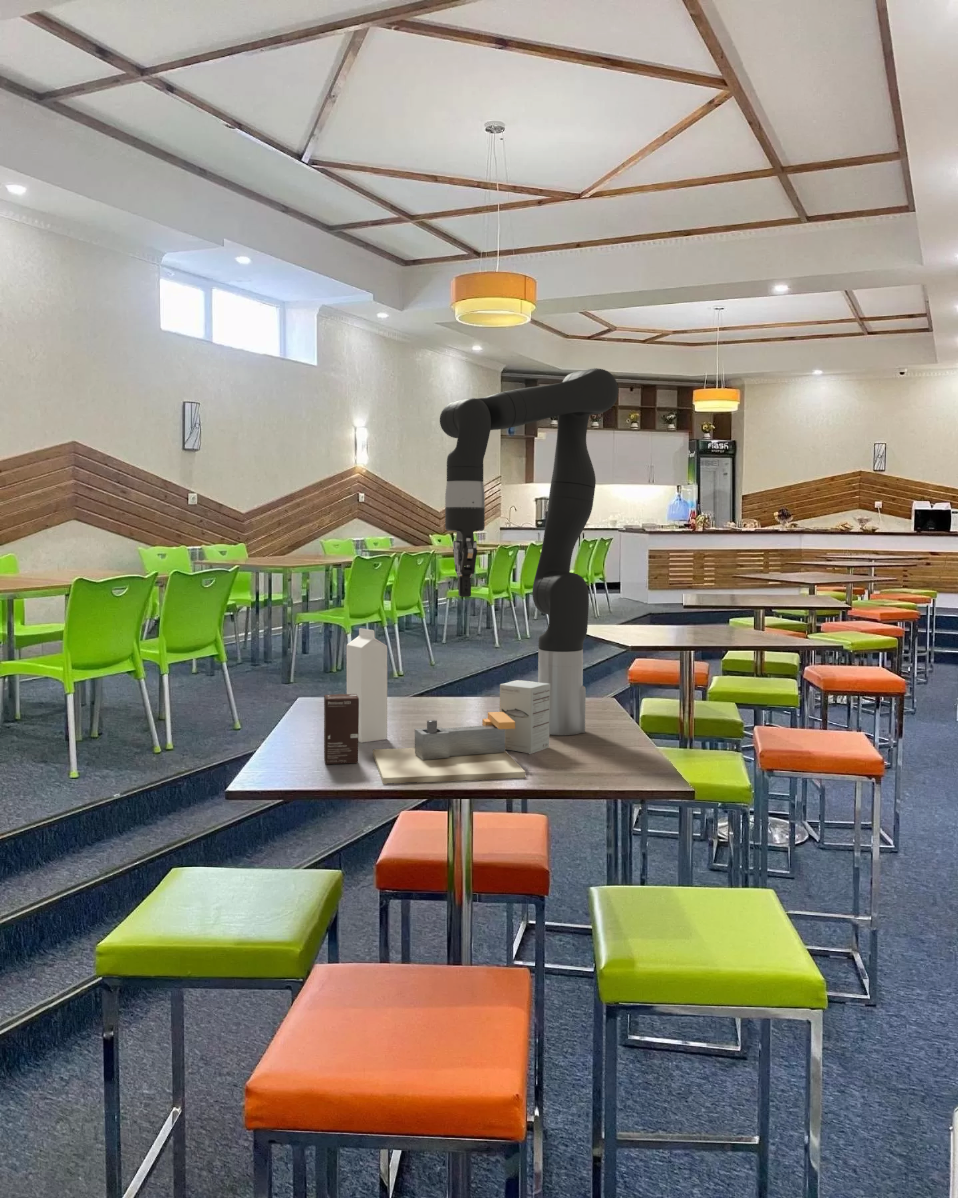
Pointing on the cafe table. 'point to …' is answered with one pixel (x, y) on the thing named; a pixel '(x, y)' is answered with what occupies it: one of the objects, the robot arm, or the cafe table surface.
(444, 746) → the link
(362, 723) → the milk
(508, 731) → the supplement box
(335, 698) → the box
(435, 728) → the pintle
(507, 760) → the board
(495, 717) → the block
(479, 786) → the cafe table surface
